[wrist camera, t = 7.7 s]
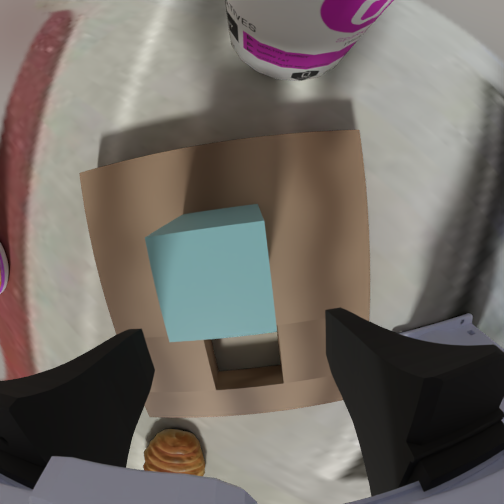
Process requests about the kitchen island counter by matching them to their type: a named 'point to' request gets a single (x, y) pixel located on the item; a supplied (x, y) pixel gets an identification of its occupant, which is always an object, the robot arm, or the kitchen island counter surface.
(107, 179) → the walnut pocket plate
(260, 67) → the supplement can
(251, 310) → the teal block
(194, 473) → the pastry
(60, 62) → the kitchen island counter surface
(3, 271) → the supplement bottle
